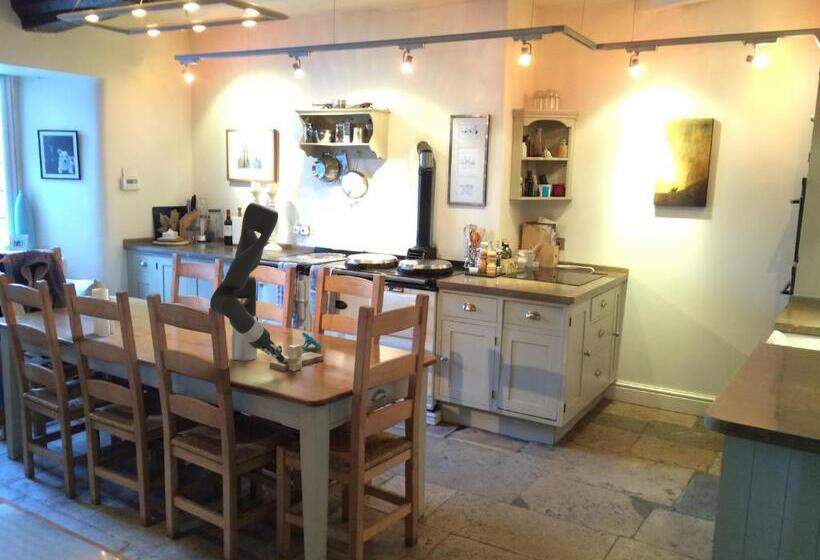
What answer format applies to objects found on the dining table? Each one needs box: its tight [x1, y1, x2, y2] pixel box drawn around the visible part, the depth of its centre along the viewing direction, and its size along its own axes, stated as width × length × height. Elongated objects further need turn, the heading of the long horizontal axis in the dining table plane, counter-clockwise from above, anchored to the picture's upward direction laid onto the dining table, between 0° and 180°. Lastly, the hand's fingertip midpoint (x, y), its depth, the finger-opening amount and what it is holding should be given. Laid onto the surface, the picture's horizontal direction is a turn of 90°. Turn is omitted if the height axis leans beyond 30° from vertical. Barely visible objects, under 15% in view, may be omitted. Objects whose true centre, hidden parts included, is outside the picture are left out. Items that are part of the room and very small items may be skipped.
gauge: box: [282, 343, 303, 372], centre depth 248 cm, size 4×10×9 cm, turn 51°
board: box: [269, 351, 324, 372], centre depth 255 cm, size 20×8×2 cm, turn 141°
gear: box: [301, 332, 322, 351], centre depth 276 cm, size 11×6×10 cm
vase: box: [91, 287, 115, 338], centre depth 296 cm, size 11×7×20 cm, turn 46°
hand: (282, 359), depth 241 cm, fingers closed
